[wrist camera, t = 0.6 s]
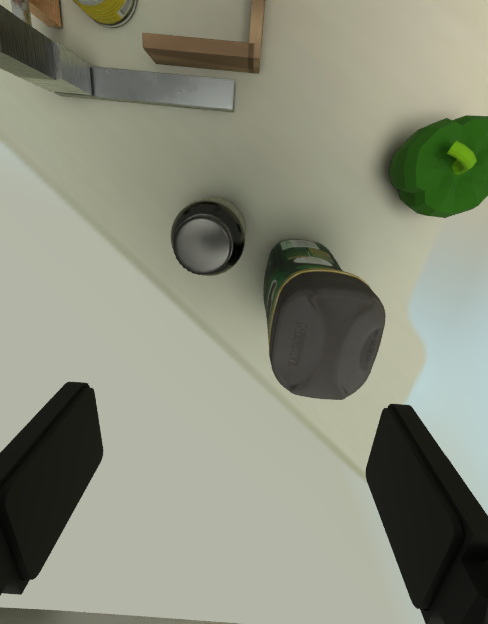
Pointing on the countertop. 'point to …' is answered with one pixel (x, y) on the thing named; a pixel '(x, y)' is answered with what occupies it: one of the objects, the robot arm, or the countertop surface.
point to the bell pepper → (444, 167)
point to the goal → (210, 48)
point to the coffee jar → (319, 322)
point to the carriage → (40, 49)
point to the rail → (160, 89)
